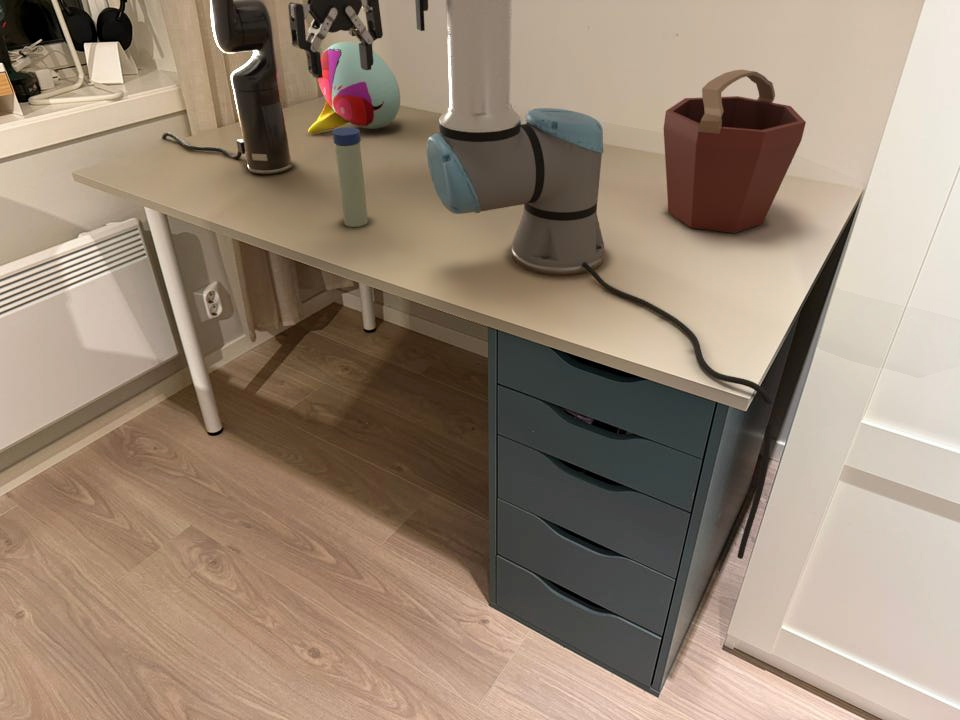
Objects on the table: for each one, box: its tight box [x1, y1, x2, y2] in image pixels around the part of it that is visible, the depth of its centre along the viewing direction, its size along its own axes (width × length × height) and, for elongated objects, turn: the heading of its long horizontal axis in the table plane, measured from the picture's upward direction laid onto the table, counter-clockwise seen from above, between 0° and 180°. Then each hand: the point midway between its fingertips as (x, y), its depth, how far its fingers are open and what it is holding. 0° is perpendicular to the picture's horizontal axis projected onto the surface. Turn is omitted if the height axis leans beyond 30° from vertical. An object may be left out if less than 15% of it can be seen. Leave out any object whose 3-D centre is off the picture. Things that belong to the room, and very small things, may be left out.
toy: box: [307, 41, 401, 134], centre depth 176 cm, size 24×24×20 cm
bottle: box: [334, 141, 369, 228], centre depth 126 cm, size 4×4×16 cm
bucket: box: [663, 69, 807, 234], centre depth 125 cm, size 24×22×25 cm
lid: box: [331, 127, 362, 145], centre depth 121 cm, size 5×5×2 cm
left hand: (342, 73), depth 110 cm, fingers open, 8 cm apart
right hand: (387, 32), depth 136 cm, fingers open, 13 cm apart
